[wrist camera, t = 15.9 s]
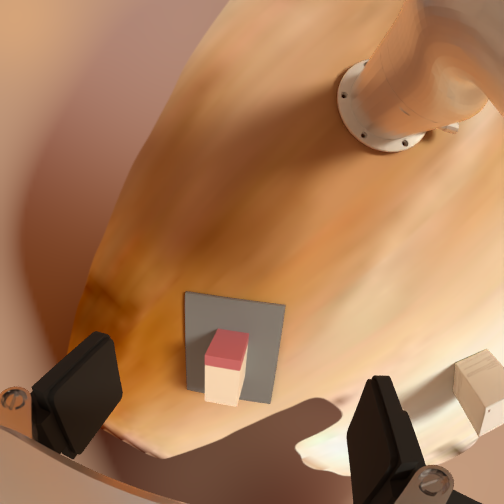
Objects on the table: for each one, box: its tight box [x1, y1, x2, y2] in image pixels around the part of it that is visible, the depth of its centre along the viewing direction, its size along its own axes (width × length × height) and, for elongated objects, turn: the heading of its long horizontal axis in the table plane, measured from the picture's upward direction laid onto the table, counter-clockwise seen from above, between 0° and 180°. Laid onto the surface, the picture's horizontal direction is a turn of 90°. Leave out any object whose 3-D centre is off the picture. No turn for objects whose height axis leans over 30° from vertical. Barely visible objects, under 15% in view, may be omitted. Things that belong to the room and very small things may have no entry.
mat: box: [185, 291, 285, 404], centre depth 44 cm, size 14×18×1 cm
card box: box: [205, 329, 249, 407], centre depth 40 cm, size 8×4×7 cm, turn 175°
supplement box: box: [453, 349, 504, 437], centre depth 34 cm, size 7×7×13 cm
